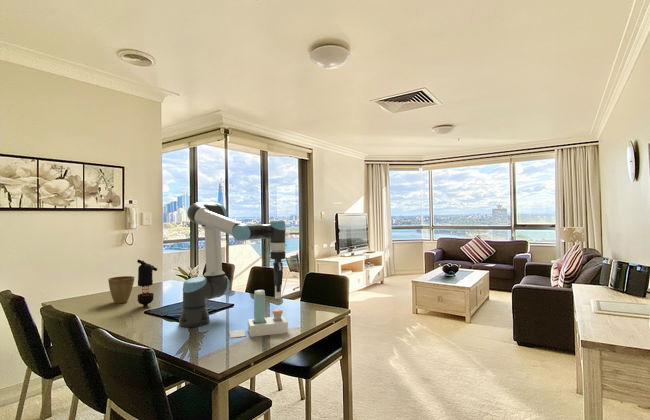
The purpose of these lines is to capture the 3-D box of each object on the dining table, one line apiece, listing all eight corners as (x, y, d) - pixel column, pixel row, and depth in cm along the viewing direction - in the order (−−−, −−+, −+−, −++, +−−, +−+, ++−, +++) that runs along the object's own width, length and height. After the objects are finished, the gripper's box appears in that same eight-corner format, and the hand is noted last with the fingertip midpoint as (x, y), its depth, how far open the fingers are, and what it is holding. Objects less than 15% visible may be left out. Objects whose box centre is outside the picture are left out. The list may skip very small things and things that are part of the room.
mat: (230, 338, 154) (230, 337, 154) (229, 331, 163) (229, 331, 163) (245, 336, 157) (245, 335, 157) (244, 330, 165) (244, 329, 165)
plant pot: (125, 305, 211) (125, 280, 212) (102, 305, 212) (102, 279, 212) (139, 299, 226) (139, 275, 227) (117, 299, 226) (117, 275, 227)
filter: (142, 309, 201) (142, 260, 202) (132, 307, 205) (133, 259, 206) (161, 304, 214) (162, 257, 214) (152, 302, 218) (152, 256, 218)
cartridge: (254, 334, 160) (254, 292, 160) (253, 330, 165) (253, 290, 165) (265, 333, 162) (265, 291, 162) (263, 329, 167) (264, 289, 167)
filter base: (250, 336, 156) (250, 326, 157) (247, 329, 167) (247, 319, 167) (287, 332, 162) (287, 322, 162) (283, 325, 173) (283, 315, 173)
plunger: (273, 321, 163) (273, 312, 163) (271, 318, 168) (271, 309, 168) (283, 320, 165) (283, 311, 165) (281, 317, 169) (281, 309, 169)
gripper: (288, 252, 162) (288, 300, 161) (282, 249, 174) (282, 294, 174) (272, 252, 160) (272, 301, 159) (268, 250, 172) (268, 295, 171)
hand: (277, 298), depth 166 cm, fingers closed
